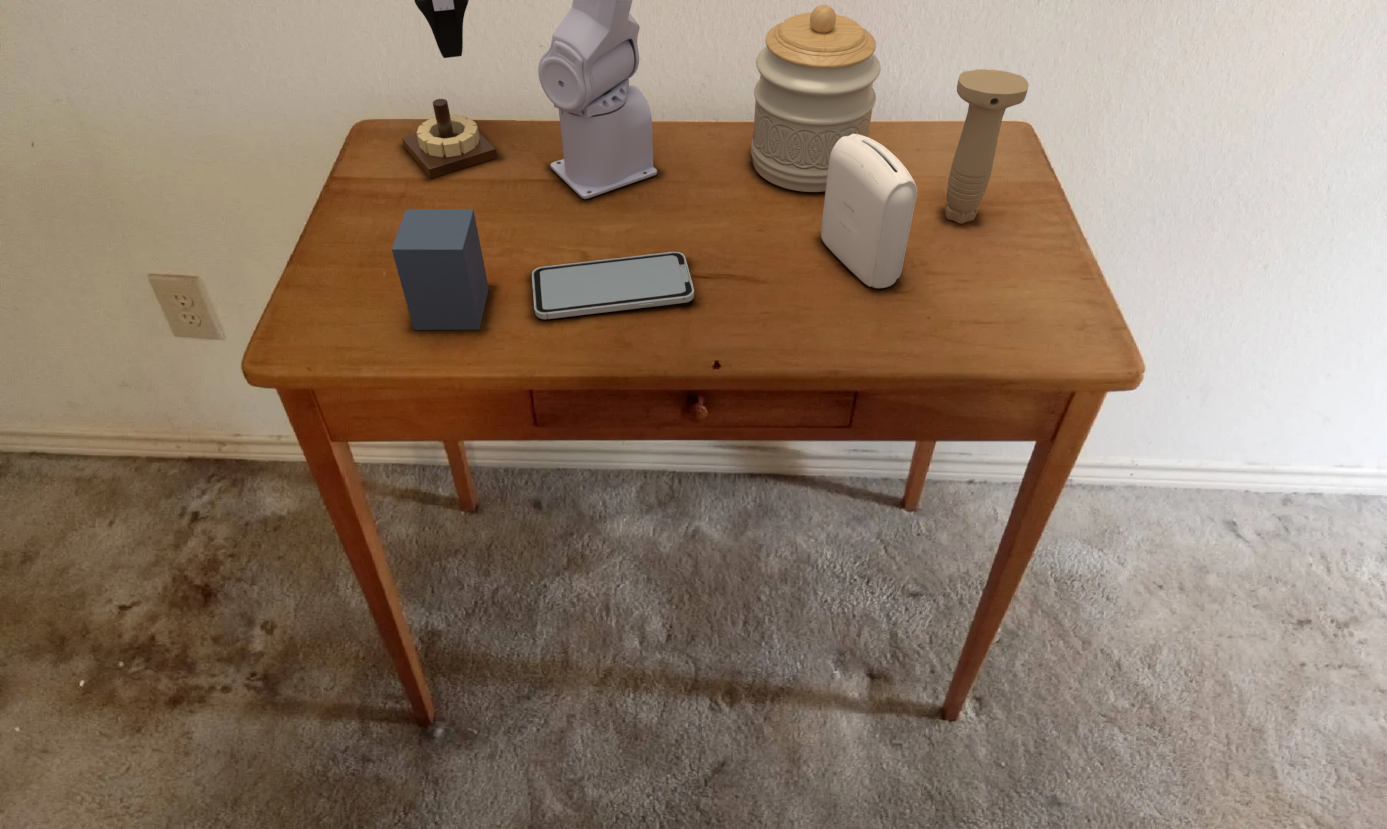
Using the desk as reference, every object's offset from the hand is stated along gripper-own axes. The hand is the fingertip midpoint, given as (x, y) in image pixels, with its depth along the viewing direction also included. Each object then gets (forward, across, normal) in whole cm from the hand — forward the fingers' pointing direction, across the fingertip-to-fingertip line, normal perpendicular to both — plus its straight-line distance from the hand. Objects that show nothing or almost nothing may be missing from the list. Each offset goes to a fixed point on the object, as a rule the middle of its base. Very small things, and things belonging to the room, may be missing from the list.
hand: (451, 49), depth 103 cm
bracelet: (+8, +6, -2) cm, 10 cm away
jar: (+9, +19, +36) cm, 42 cm away
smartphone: (+9, +35, +10) cm, 38 cm away
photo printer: (+9, +37, +35) cm, 52 cm away
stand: (+9, +6, -2) cm, 11 cm away
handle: (+9, +33, +48) cm, 59 cm away
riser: (+9, +34, -5) cm, 36 cm away
